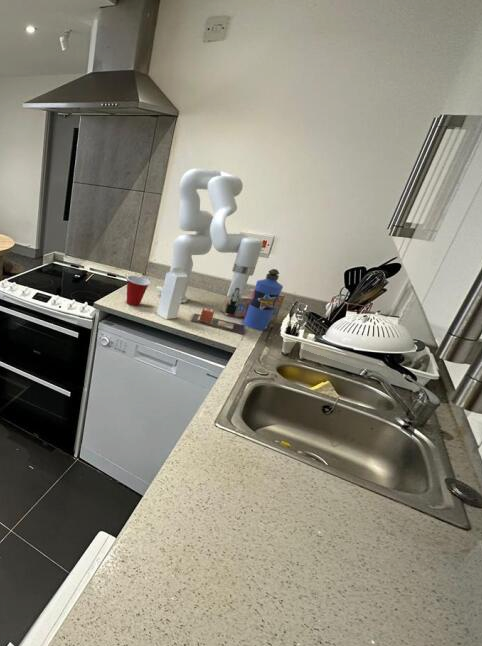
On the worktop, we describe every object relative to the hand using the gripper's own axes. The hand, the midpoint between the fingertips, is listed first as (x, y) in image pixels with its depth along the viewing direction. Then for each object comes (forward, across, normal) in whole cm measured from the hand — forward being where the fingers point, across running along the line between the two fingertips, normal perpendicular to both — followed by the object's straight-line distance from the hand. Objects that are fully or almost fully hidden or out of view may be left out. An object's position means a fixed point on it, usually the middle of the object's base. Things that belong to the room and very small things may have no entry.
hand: (230, 311), depth 162 cm
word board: (+7, 0, -3) cm, 7 cm away
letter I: (0, 0, 0) cm, 0 cm away
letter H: (+6, 0, -8) cm, 10 cm away
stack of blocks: (+7, -21, +8) cm, 24 cm away
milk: (+7, +6, -23) cm, 25 cm away
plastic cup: (+7, +1, -39) cm, 40 cm away
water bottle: (+7, -10, +11) cm, 16 cm away
